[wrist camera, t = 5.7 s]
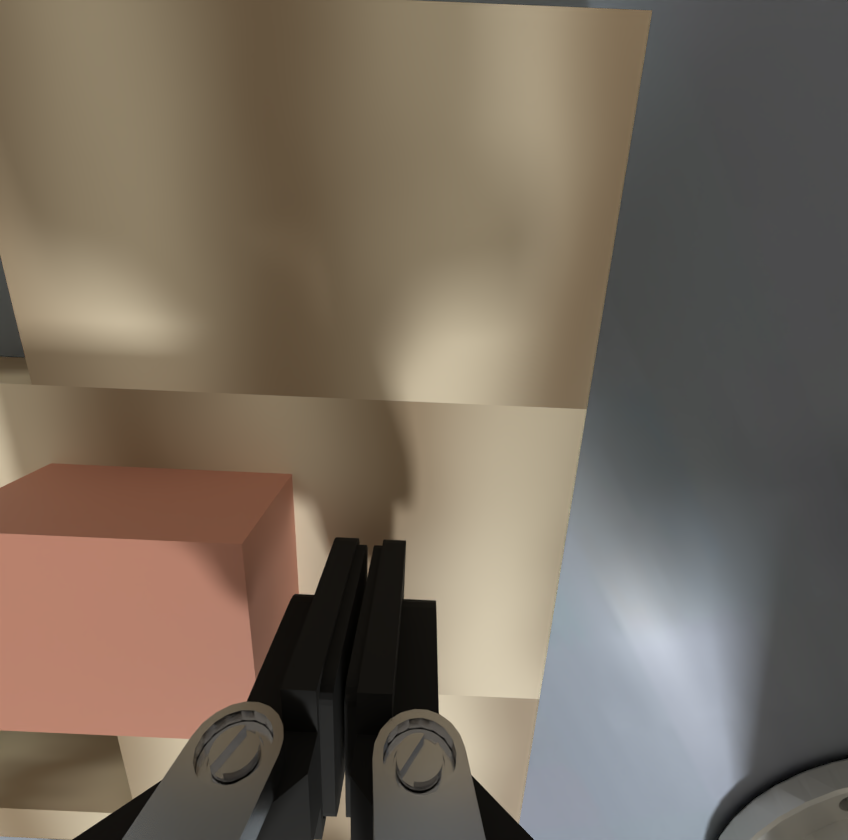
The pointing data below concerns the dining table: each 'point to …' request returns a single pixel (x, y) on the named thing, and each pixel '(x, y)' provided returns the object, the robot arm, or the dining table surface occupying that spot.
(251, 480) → the block
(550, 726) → the dining table surface
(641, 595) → the dining table surface
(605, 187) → the board
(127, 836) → the robot arm
